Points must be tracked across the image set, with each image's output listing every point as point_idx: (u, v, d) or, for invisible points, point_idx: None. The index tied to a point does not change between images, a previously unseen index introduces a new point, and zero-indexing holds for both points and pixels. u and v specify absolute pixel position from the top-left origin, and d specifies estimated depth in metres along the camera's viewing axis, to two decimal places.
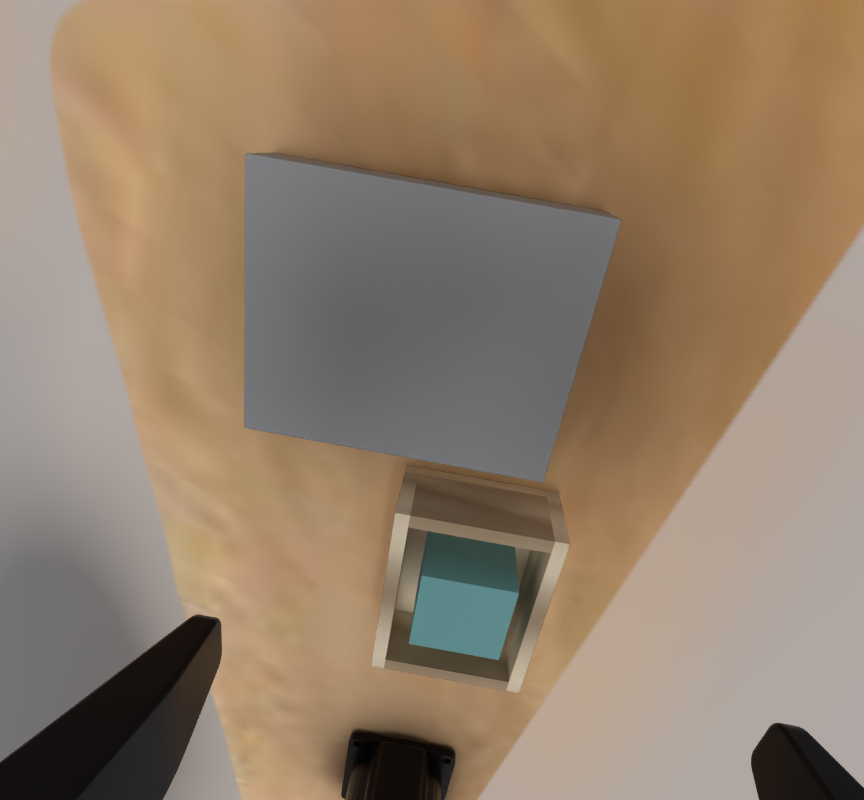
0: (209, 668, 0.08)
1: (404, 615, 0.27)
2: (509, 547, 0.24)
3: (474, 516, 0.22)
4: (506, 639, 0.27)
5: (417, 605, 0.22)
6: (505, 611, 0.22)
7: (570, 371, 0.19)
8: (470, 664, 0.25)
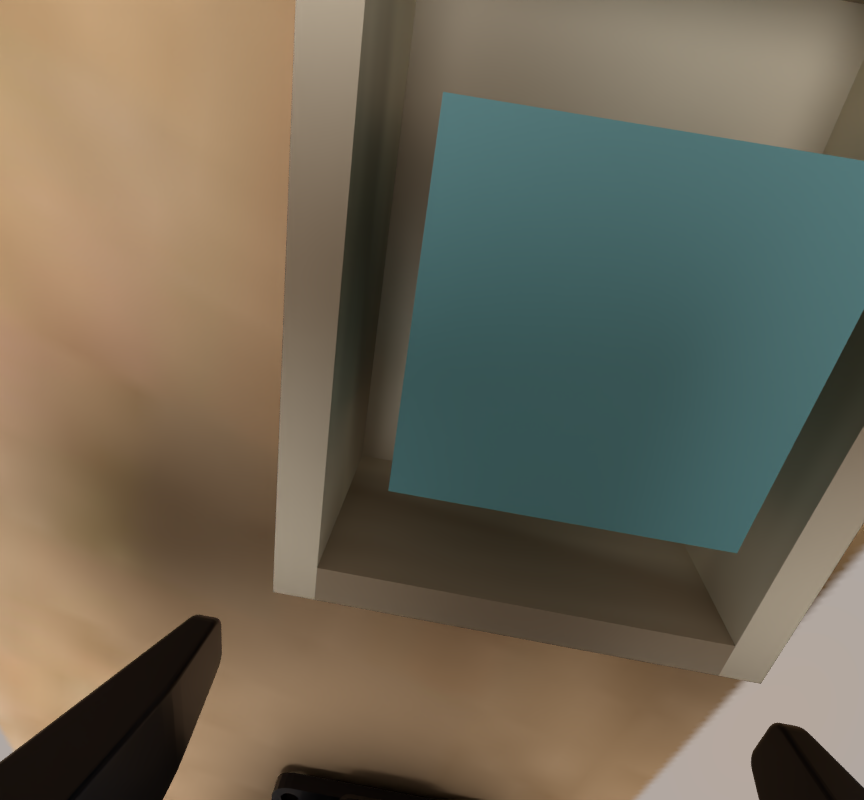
0: (209, 668, 0.08)
1: (387, 469, 0.10)
2: None
3: None
4: None
5: (421, 291, 0.05)
6: (830, 300, 0.05)
7: None
8: (596, 591, 0.08)
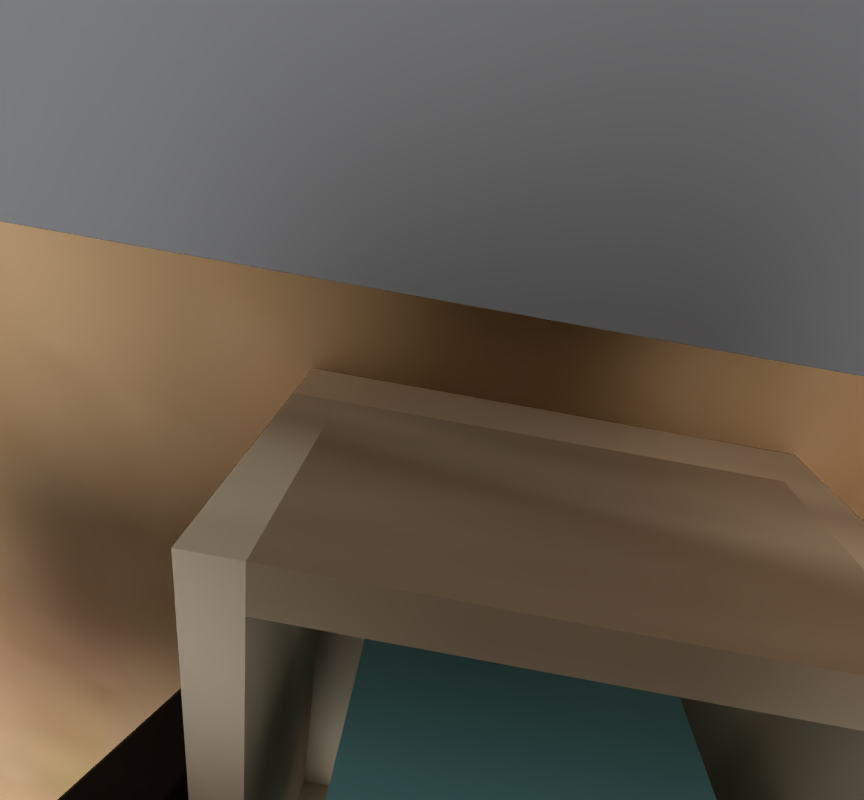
0: None
1: None
2: None
3: (556, 562, 0.05)
4: None
5: None
6: None
7: None
8: None
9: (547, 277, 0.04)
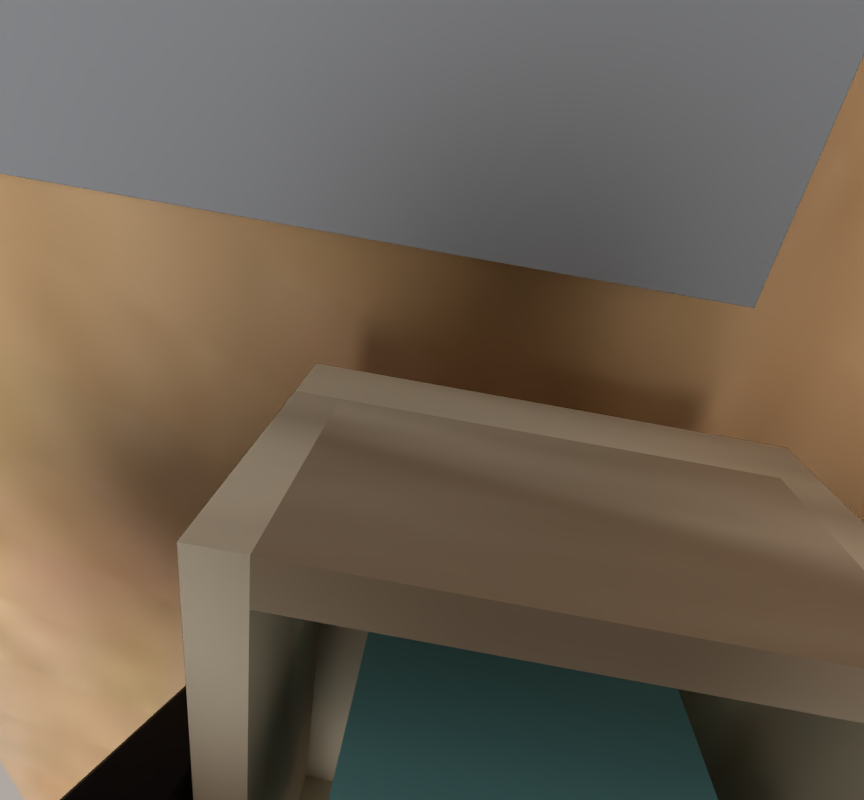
0: None
1: (328, 797, 0.10)
2: None
3: (555, 557, 0.05)
4: None
5: None
6: None
7: None
8: None
9: (525, 237, 0.07)
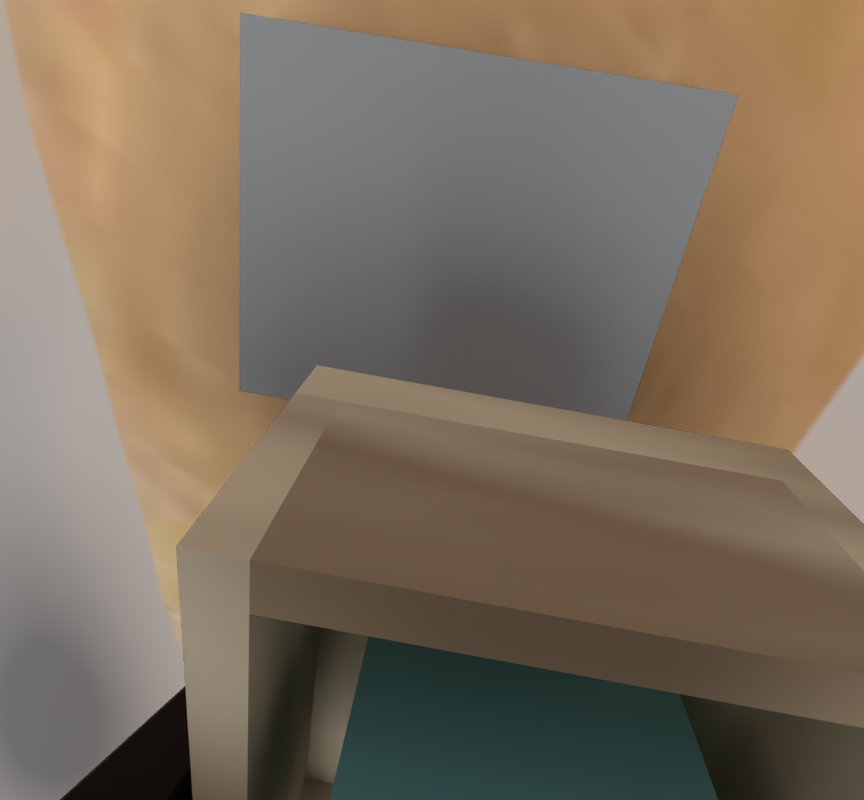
0: None
1: (328, 799, 0.10)
2: None
3: (556, 560, 0.05)
4: None
5: None
6: None
7: (657, 308, 0.15)
8: None
9: None
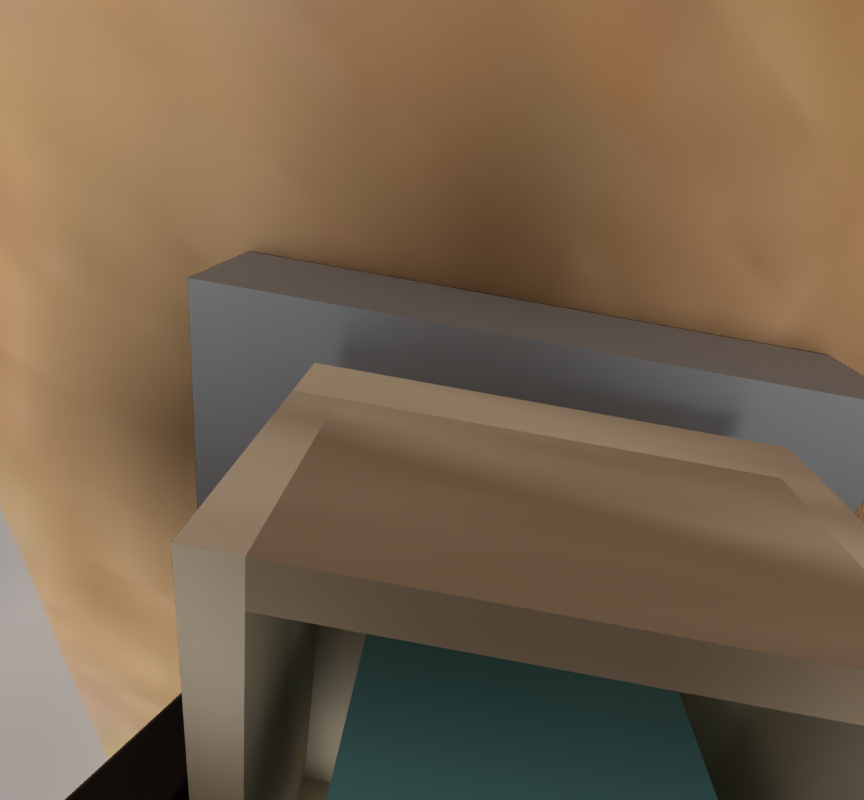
0: None
1: None
2: None
3: (554, 558, 0.05)
4: None
5: None
6: None
7: None
8: None
9: None
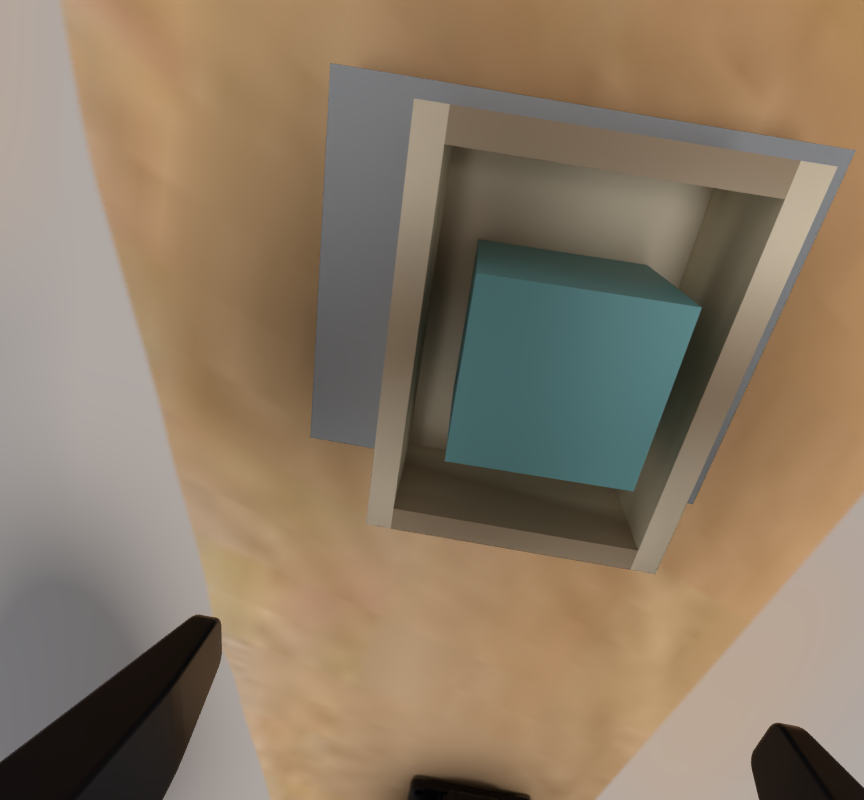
0: (209, 668, 0.08)
1: (427, 451, 0.15)
2: (645, 270, 0.12)
3: None
4: (615, 489, 0.15)
5: (464, 359, 0.10)
6: (663, 362, 0.10)
7: None
8: (558, 522, 0.13)
9: None
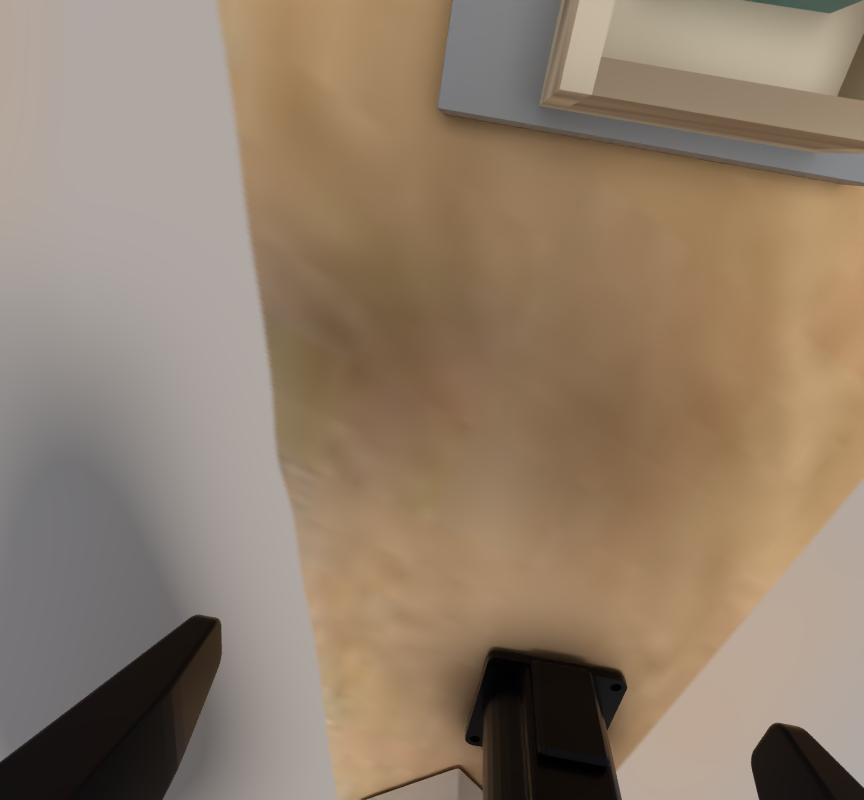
0: (209, 668, 0.08)
1: None
2: None
3: None
4: None
5: None
6: None
7: None
8: None
9: (795, 154, 0.13)
